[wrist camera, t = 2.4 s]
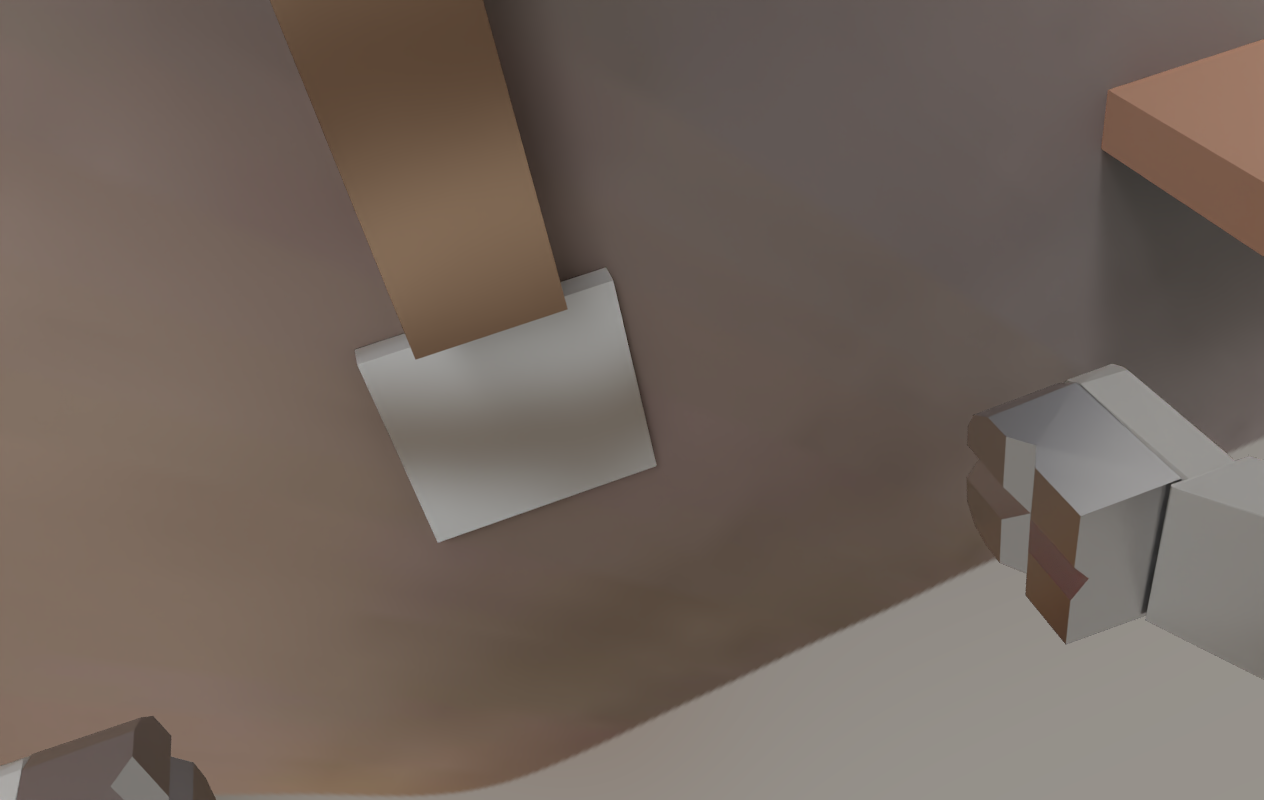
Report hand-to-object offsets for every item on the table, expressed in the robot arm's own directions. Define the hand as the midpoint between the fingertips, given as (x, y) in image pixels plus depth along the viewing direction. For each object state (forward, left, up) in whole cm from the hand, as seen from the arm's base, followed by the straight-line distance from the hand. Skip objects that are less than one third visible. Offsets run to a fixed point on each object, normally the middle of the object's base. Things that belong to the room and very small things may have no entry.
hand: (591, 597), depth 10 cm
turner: (+2, +1, -14) cm, 14 cm away
